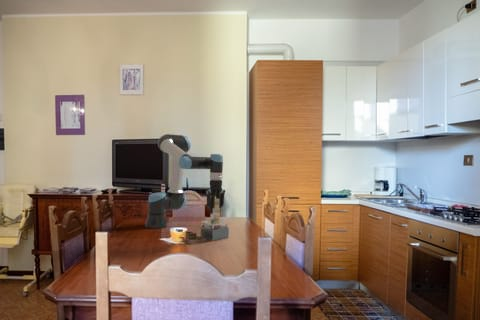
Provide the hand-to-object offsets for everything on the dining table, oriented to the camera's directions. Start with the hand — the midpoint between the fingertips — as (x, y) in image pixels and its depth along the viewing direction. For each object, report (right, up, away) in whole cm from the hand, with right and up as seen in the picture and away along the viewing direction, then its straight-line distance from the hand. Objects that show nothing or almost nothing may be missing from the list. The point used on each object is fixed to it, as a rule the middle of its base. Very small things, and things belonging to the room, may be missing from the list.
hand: (214, 218), depth 188 cm
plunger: (0, -7, 0) cm, 7 cm away
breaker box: (0, -12, 0) cm, 12 cm away
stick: (0, -4, 0) cm, 4 cm away
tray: (-11, -12, -11) cm, 19 cm away
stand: (-15, -12, -1) cm, 19 cm away
